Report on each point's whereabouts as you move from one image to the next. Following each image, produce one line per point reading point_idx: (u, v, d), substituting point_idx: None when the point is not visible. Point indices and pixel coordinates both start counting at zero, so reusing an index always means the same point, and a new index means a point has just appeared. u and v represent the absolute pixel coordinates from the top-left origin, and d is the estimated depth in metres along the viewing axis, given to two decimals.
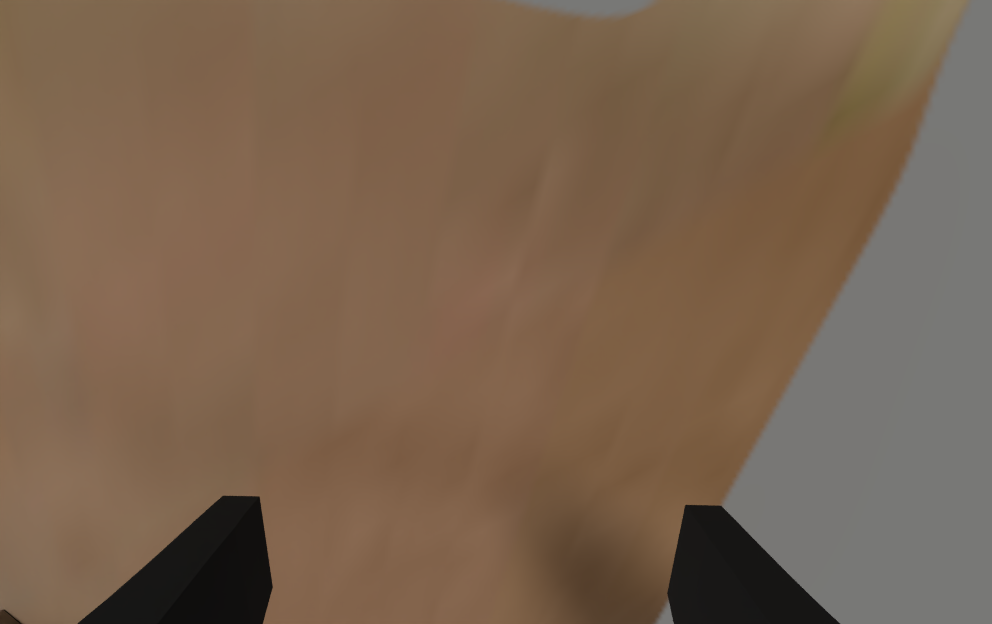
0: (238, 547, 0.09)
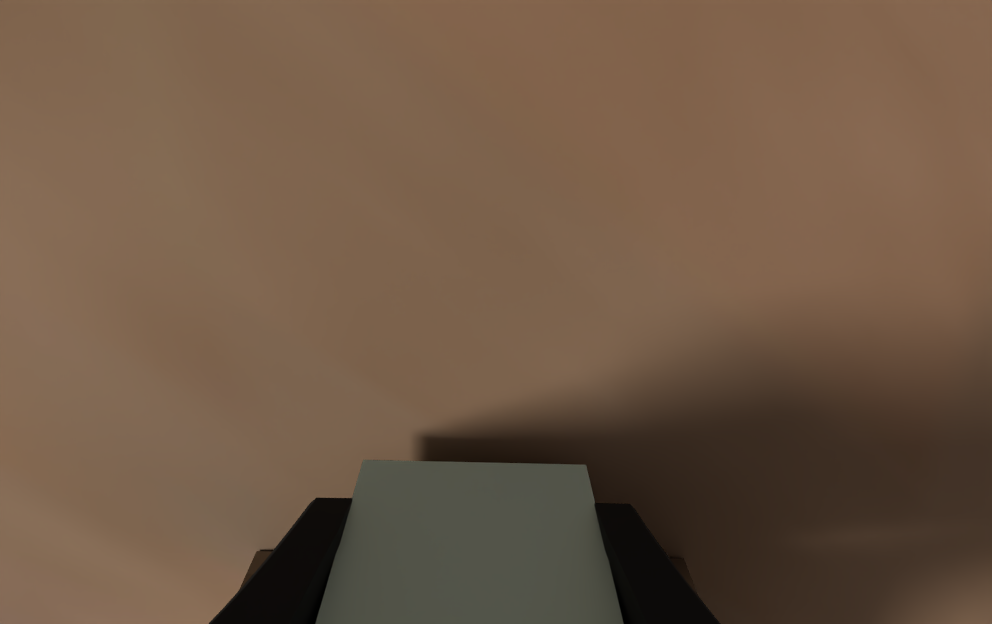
0: None
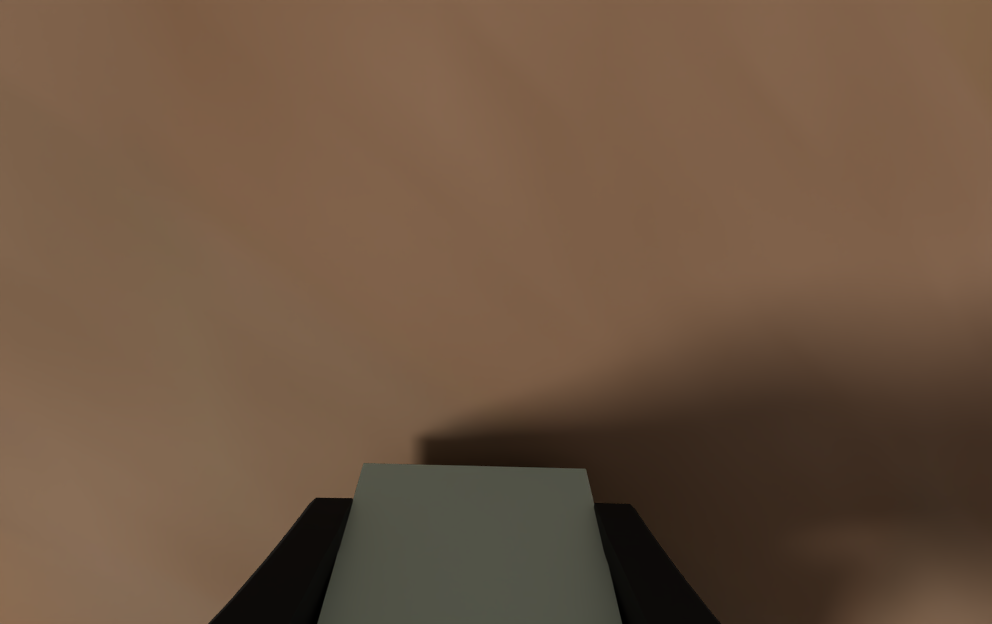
0: None
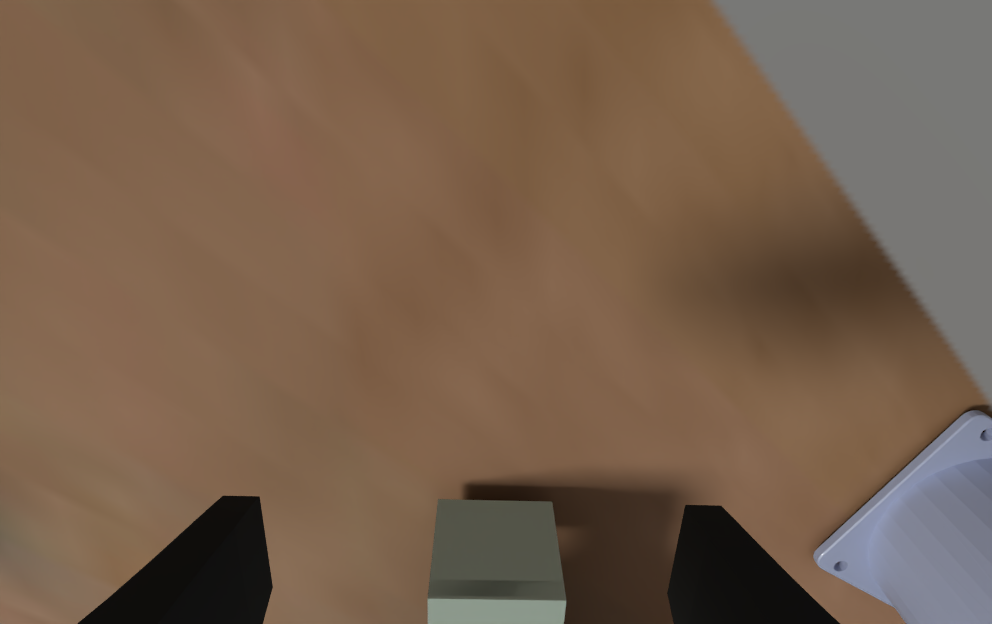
0: (238, 547, 0.09)
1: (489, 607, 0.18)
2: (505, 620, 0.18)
